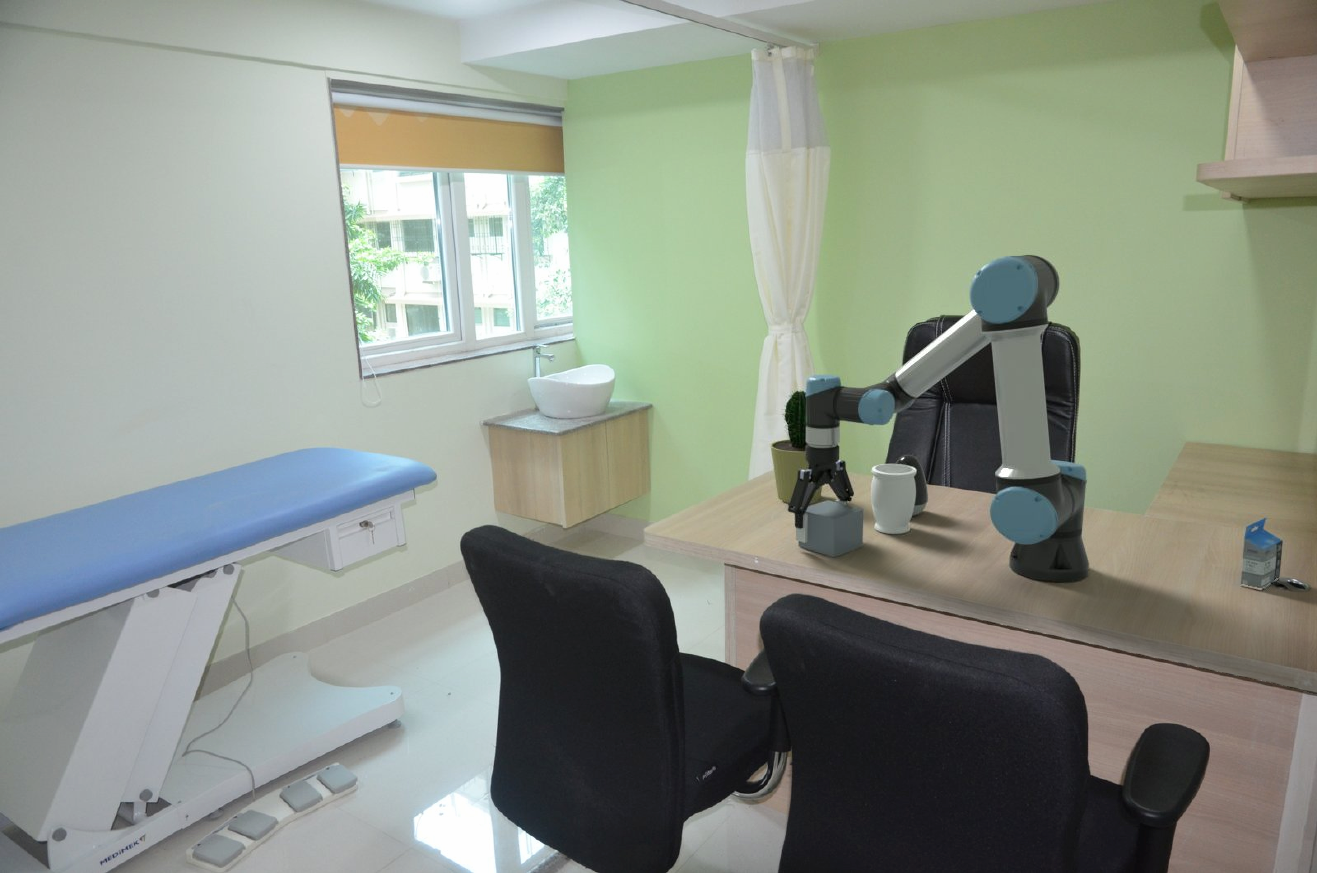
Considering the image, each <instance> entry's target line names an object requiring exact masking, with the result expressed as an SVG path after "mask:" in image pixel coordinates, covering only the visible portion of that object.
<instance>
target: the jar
mask: <svg viewBox="0 0 1317 873" xmlns="http://www.w3.org/2000/svg"><path fill="white" fill-rule="evenodd" d="M871 473H872V475H873V476H872V481H871V485H870V499H871V500H870V501H871V507H872V514H873V517H874V520H875V521H876V522H875V524H874V525H873V526H874V529H875V530H876V531H878V532H880V533H884V534H889V535H900V534H905V533H908V532H909V531H910V530H911V527H910V525H909V523H910V521H911V520H912V517H913V516H912V514H913V508H914V504H915V498H916V485H915V479H914V476H915V475H916V469H915V468H914V467H911V466H907V465H902V464H896V463H881V464H877V465H874V466H872V467H871Z"/></svg>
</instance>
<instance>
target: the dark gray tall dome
mask: <svg viewBox="0 0 1317 873" xmlns="http://www.w3.org/2000/svg"><path fill="white" fill-rule="evenodd" d="M895 464H902V465H907V466H911V467H914V468H915V469H916V475H915V476H914V479H915V485H916V498H915V504H914V508H913V514H912V517H914V516H918V515H920V514H921V513H922V512H924V510H925V509H926V506H927V503H928V502H929V492H928V485H927V480H926V475H925V472H924V469H923V466H922V465H921V462H920V461H919V459H918V458H917V454H915V453H912V455H911V454H904V455H902V456H900V457H899V458H898V459H897V461H896V462H895Z"/></svg>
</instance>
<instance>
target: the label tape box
mask: <svg viewBox="0 0 1317 873" xmlns="http://www.w3.org/2000/svg"><path fill="white" fill-rule="evenodd" d="M1266 520H1267V517H1264V518H1262V519H1259V520H1256V521H1255V522H1252V523H1250V524H1248V525H1246V527H1245V531H1244V536H1243V548H1242V558H1241V559H1242V561H1241V572H1240V585H1241V584H1245V585H1248V586H1252V587H1257V588H1263V587H1266V586H1267V585H1268V584H1269V583H1270V582H1273V581H1274V580H1275V579H1276V578H1279V579H1280V576H1281V566H1282V565H1281V564H1282V554H1283V545H1284V544H1283V540H1282V539H1280V537H1277V536H1276V535H1274V534H1272V533H1271V532H1269V531H1267V529H1266V530H1265V529H1264V527H1265V524H1266ZM1255 528H1256V529H1255ZM1253 529H1254V530H1253Z"/></svg>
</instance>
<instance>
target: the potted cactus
mask: <svg viewBox="0 0 1317 873" xmlns="http://www.w3.org/2000/svg"><path fill="white" fill-rule="evenodd" d="M790 391H792V394H789V395H788V397H787V398H788V401H787V402H786V405H785V409H782V408H781V410H783V411H784V412H785V413H782V415H783V420H784V422H785V423H786V425H785V426H784V427H783V428H785V429H786V431H787V433H786V436H788V438H787V439H781V440H777V441H773V442H772V443H770V445H769V446H770V452H771V456H772V457H771V458H772V465H773V471H774V472H773V473H774V478H775V485H776V486H775V487H776V492H777V498H778V500H779V499H780V500H782V501H784V502H783V503H785V502H787V503H786V504H790V501H791V497H792V494H793V491H794V488H795V485H796V482H797V477H798V470H799V469H803V470H807V469H808V466H809V464H808V462H807V461H806V459H805V446H806V445H807V444H808V443H807V442H806V397H805V395H806V391H804V390H796V391H795V390H794V391H793V390H790ZM789 397H790V398H789ZM811 483H812V481H811ZM822 490H823V486H820V488H819V489H818V490H816V492H815V494H814V496H813V498H812V500H811V502H810V504H814V503H813V502H815V503H817V502H819V501H820V500H821V497H822ZM819 499H820V500H819ZM780 500H779V501H780ZM818 500H819V501H818ZM782 501H781V502H782ZM816 501H817V502H816Z"/></svg>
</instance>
